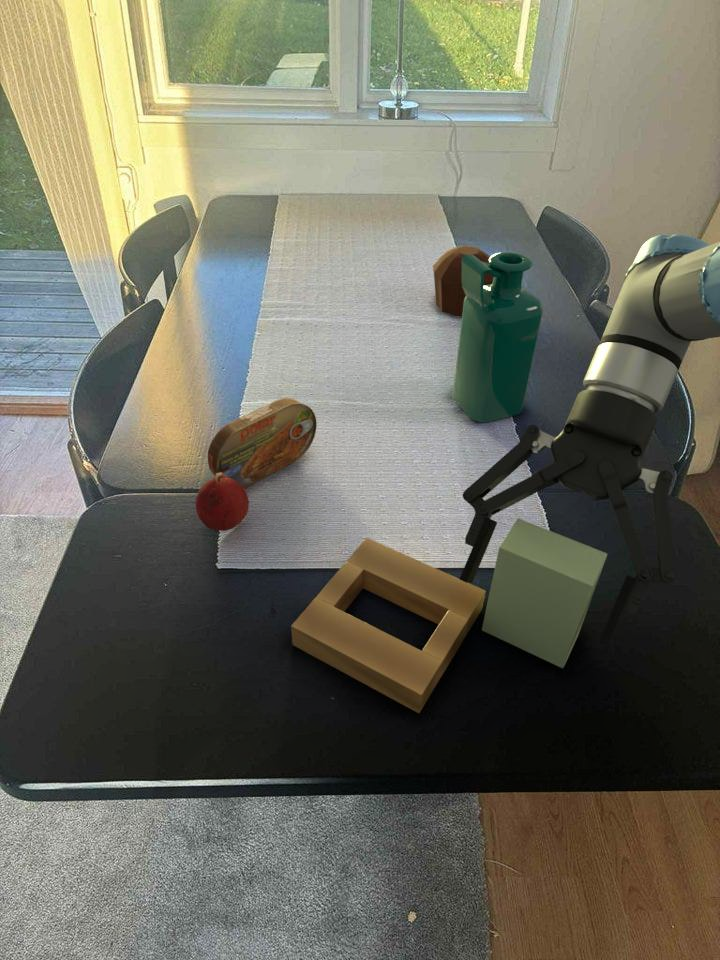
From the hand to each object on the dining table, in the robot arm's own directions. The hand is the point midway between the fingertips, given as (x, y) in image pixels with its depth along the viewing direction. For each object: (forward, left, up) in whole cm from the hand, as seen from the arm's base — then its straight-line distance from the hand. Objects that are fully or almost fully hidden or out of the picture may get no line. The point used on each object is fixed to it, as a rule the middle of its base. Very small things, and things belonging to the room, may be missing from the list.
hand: (531, 611), depth 66 cm
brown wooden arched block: (+73, +1, -5) cm, 73 cm away
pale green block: (+2, -1, -5) cm, 6 cm away
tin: (+26, +29, -5) cm, 39 cm away
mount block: (+2, +13, -5) cm, 14 cm away
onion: (+15, +32, -5) cm, 36 cm away
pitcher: (+42, 0, -5) cm, 42 cm away
